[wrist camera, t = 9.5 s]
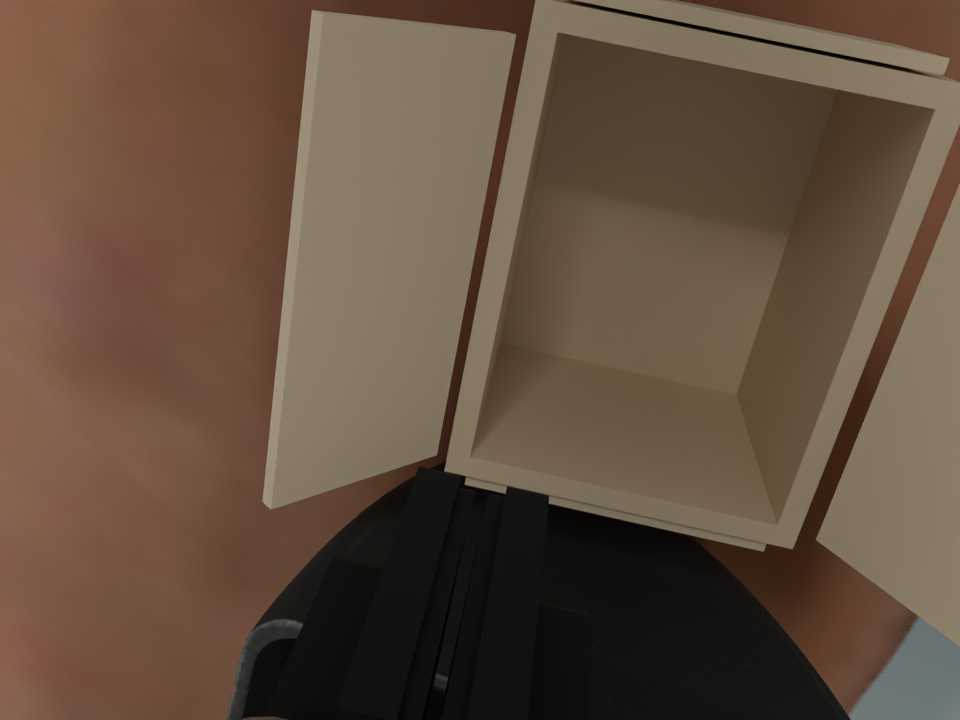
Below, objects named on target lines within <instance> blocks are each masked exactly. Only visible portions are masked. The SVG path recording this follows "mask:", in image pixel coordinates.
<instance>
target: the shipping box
mask: <svg viewBox="0 0 960 720" xmlns="http://www.w3.org/2000/svg"><path fill="white" fill-rule="evenodd" d="M949 60H950V59H949V58H946V57H942V56H938V55H934V54H930V53H926V52H923V51H919V50H915V49H911V48H907V47H903V46H900V45H896V44H892V43H887V42H882V41H877V40H872V39H867V38H862V37H857V36H852V35H847V34H842V33H838V32H833V31H828V30H823V29H818V28H813V27H808V26H803V25H798V24H793V23H788V22H783V21H778V20H773V19H768V18H763V17H758V16H753V15H748V14H743V13H738V12H733V11H728V10H723V9H719V8H714V7H709V6H704V5H699V4H694V3H689V2H684V1H679V0H536V1H535V6H534V11H533V16H532V21H531V26H530V32H529V37H528V42H527V47H526V52H525V57H524V63H523V68H522V73H521V78H520V83H519V88H518V93H517V99H516V104H515V109H514V114H513V119H512V124H511V130H510V135H509V140H508V145H507V150H506V155H505V160H504V166H503V171H502V176H501V181H500V186H499V191H498V197H497V202H496V207H495V212H494V217H493V222H492V227H491V233H490V238H489V243H488V248H487V253H486V258H485V264H484V269H483V274H482V279H481V284H480V289H479V295H478V300H477V305H476V310H475V315H474V320H473V325H472V331H471V336H470V341H469V346H468V351H467V356H466V362H465V367H464V372H463V377H462V382H461V387H460V392H459V398H458V403H457V408H456V413H455V418H454V423H453V429H452V434H451V439H450V444H449V449H448V454H447V460H446V465H445V470H444V471H446V472H450V473H455V474H459V475H463V476H466V480H465V485H469V486H473V487H477V488H482V489H486V490H491V491H495V492H500V493H504V494H505V493H506V489H507V486H509V487H514V488H518V489H523V490H527V491H532V492H536V493H541V494H545V495H549V504H553V505H558V506H562V507H567V508H571V509H575V510H580V511H584V512H589V513H593V514H598V515H602V516H607V517H611V518H616V519H620V520H624V521H629V522H633V523H638V524H642V525H647V526H651V527H656V528H660V529H664V530H669V531H673V532H678V533H682V534H687V535H691V536H696V537H700V538H705V539H709V540H713V541H718V542H722V543H727V544H731V545H736V546H740V547H745V548H749V549H754V550H758V551H762V552H764V550H765V547H766V545H767V544H771V545H776V546H780V547H785V548H789V549H793V548H794V545H795V542H796V540H797V537H798V535H799V532H800V530H801V527H802V525H803V522H804V520H805V517H806V514H807V512H808V509H809V507H810V504H811V502H812V499H813V497H814V494H815V492H816V489H817V486H818V484H819V481H820V479H821V476H822V474H823V471H824V469H825V466H826V464H827V461H828V458H829V456H830V453H831V451H832V448H833V446H834V443H835V441H836V438H837V436H838V433H839V430H840V428H841V425H842V423H843V420H844V418H845V415H846V413H847V410H848V408H849V405H850V402H851V400H852V397H853V395H854V392H855V390H856V387H857V385H858V382H859V380H860V377H861V374H862V372H863V369H864V367H865V364H866V362H867V359H868V357H869V354H870V352H871V349H872V346H873V344H874V341H875V339H876V336H877V334H878V331H879V329H880V326H881V324H882V321H883V318H884V316H885V313H886V311H887V308H888V306H889V303H890V301H891V298H892V296H893V293H894V290H895V288H896V285H897V283H898V280H899V278H900V275H901V273H902V270H903V268H904V265H905V262H906V260H907V257H908V255H909V252H910V250H911V247H912V245H913V242H914V240H915V237H916V234H917V232H918V229H919V227H920V224H921V222H922V219H923V217H924V214H925V212H926V209H927V206H928V204H929V201H930V199H931V196H932V194H933V191H934V189H935V186H936V184H937V181H938V178H939V176H940V173H941V171H942V168H943V166H944V163H945V161H946V158H947V156H948V153H949V150H950V148H951V145H952V143H953V140H954V138H955V135H956V133H957V130H958V128H959V125H960V82H959V81H956V80H953V79H950V78H947V77H943V76H940V75H944V73H945V70H946V68H947V65H948V62H949ZM934 73H935V74H934ZM937 74H940V75H937Z"/></svg>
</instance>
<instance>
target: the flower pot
mask: <svg viewBox="0 0 960 720" xmlns="http://www.w3.org/2000/svg"><path fill="white" fill-rule="evenodd" d="M445 465H446V462H444V463H442V464H440V465H437V466H435V467H433V468H430V469H433V470H437V471H442V472H446V471H444V470H445ZM446 473H450V472H446ZM451 474H455V473H451ZM455 475H459V474H455ZM460 476H461V480H460V485H459V487H461V488H465V489H470V490H474V491H475V493H474V498H473V503H472V508H471V512H470V517H469V522H468V526H467V531H466V536H465V541H464V545H463V550H462V555H461V560H460V564H459V569H458V574H457V578H456V583H455V588H454V593H453V597H452V602H451V607H450V611H449V616H448V621H447V626H446V630H445V635H444V640H443V645H442V649H441V654H440V658H439V663H438V668H437V672H436V677H435V681H434V685H433V690H432V694H431V699H430V703H429V707H428V712H427V716H426V720H439V718H440V714H441V709H442V704H443V699H444V695H445V690H446V685H447V680H448V676H449V671H450V666H451V662H452V657H453V652H454V648H455V643H456V639H457V634H458V630H459V625H460V621H461V616H462V612H463V607H464V602H465V598H466V593H467V589H468V584H469V580H470V575H471V571H472V566H473V562H474V557H475V552H476V548H477V543H478V539H479V534H480V530H481V525H482V521H483V516H484V511H485V507H486V502H487V498H488V494H492V495H497V496H501V497H505V494H504V493H500V492H495V491H491V490H486V489H482V488H477V487H473V486H469V485H465V480H466V476H463V475H460ZM415 477H416V476H414V477H412V478H411V479H409V480H407V481H405V482H404V483H402V484H400V485H399V486H397V487H396V488H394V489H393V490H391V491H390V492H388V493H387V494H385V495H384V496H382V497H381V498H380V499H378V500H377V501H376V502H374V503H373V504H372V505H370V506H369V507H368V508H366V509H365V510H364V511H363V512H361V513H360V514H359V515H358V516H357V517H356V518H355V519H354V520H352V521H351V522H350V523H349V524H348V525H346V526H345V527H344V528H343V529H342V530H341V531H340V532H339V533H338V534H337V535H336V536H334V537H333V538H332V539H331V540H330V541H329V542H328V543H327V544H326V545H325V546H324V547H323V548H322V549H321V550H320V551H319V552H318V553H317V554H316V555H315V556H314V557H313V558H312V560H311V561H310V562H309V563H308V564H307V565H306V566H305V567H304V568H303V569H302V570H301V572H300V573H299V574H298V575H297V576H296V577H295V578H294V579H293V581H292V582H291V583H290V584H289V585H288V586H287V587H286V588H285V589H284V591H283V592H282V593H281V594H280V595H279V596H278V598H277V599H276V600H275V601H274V602H273V604H272V605H271V606H270V607H269V609H268V610H267V611H266V612H265V613H264V615H263V616H262V617H261V619H260V620H259V622H258V623H257V624H256V626H255V627H254V628H253V630H252V631H251V632H250V634H249V635H248V637H247V638H246V639H245V643H244V647H243V650H242V654H241V658H240V662H239V666H238V670H237V675H236V679H235V683H234V688H233V692H232V696H231V700H230V705H229V709H228V713H227V717H226V720H241V719H245V718H248V717H263V715H264V713H265V711H266V708H267V706H268V704H269V701H270V699H271V697H272V694H273V692H274V690H275V688H276V685H277V683H278V681H279V678H280V676H281V674H282V672H283V669H284V667H285V665H286V662H287V660H288V658H289V655H290V653H291V651H292V649H293V646H294V644H295V642H296V639H297V637H298V635H299V632H300V630H301V628H302V626H303V623H304V621H305V619H306V616H307V614H308V612H309V610H310V607H311V605H312V603H313V600H314V598H315V596H316V593H317V591H318V589H319V587H320V584H321V582H322V580H323V577H324V575H325V573H326V571H327V568H328V566H329V564H330V562H331V560H332V558H333V557H334V556H335V555H339V556H343V557H348V558H352V559H357V560H361V561H366V562H370V563H374V564H379V565H383V566H385V563H386V561H387V558H388V555H389V552H390V549H391V546H392V543H393V540H394V538H395V535H396V532H397V529H398V526H399V523H400V520H401V517H402V514H403V512H404V509H405V506H406V503H407V500H408V497H409V494H410V491H411V489H412V486H413V483H414V480H415ZM539 601H543V602H547V603H552V604H556V605H561V606H565V607H570V608H574V609H578V610H583V611H587V612H590V615H591V661H590V711H589V720H850V718H849V717H848V715H847V714H846V712H845V711H844V709H843V708H842V706H841V705H840V703H839V702H838V701H837V699H836V698H835V696H834V695H833V693H832V692H831V690H830V689H829V688H828V686H827V685H826V683H825V682H824V681H823V679H822V678H821V677H820V675H819V674H818V672H817V671H816V670H815V668H814V667H813V666H812V664H811V663H810V662H809V660H808V659H807V658H806V657H805V655H804V654H803V653H802V651H801V650H800V649H799V648H798V646H797V645H796V644H795V643H794V642H793V640H792V639H791V638H790V637H789V636H788V634H787V633H786V632H785V631H784V629H783V628H782V627H781V626H780V625H779V623H778V622H777V621H776V620H775V619H774V617H773V616H772V615H771V614H770V613H769V612H768V611H767V610H766V609H765V608H764V606H763V605H762V604H761V603H760V602H759V601H758V600H757V599H756V598H755V597H754V596H753V595H752V594H751V592H750V591H749V590H748V589H747V588H746V587H745V586H744V585H743V584H742V583H741V582H740V581H739V580H738V579H737V578H736V577H735V576H734V575H733V574H732V573H731V572H730V571H729V570H728V569H727V568H726V567H725V566H724V565H723V564H722V563H721V562H719V561H718V560H717V559H716V558H715V557H714V556H713V555H712V554H710V553H709V552H708V551H707V550H705V549H704V548H703V547H702V546H701V545H700V544H698V543H696V542H694V541H692V540H690V539H687V538H684V537H681V536H678V535H675V534H672V533H669V532H666V531H663V530H660V529H657V528H654V527H651V526H647V525H642V524H638V523H633V522H629V521H624V520H620V519H616V518H611V517H607V516H602V515H598V514H593V513H589V512H584V511H580V510H575V509H571V508H567V507H562V506H558V505H553V504H549V505H548V515H547V526H546V536H545V546H544V556H543V566H542V576H541V586H540V596H539Z"/></svg>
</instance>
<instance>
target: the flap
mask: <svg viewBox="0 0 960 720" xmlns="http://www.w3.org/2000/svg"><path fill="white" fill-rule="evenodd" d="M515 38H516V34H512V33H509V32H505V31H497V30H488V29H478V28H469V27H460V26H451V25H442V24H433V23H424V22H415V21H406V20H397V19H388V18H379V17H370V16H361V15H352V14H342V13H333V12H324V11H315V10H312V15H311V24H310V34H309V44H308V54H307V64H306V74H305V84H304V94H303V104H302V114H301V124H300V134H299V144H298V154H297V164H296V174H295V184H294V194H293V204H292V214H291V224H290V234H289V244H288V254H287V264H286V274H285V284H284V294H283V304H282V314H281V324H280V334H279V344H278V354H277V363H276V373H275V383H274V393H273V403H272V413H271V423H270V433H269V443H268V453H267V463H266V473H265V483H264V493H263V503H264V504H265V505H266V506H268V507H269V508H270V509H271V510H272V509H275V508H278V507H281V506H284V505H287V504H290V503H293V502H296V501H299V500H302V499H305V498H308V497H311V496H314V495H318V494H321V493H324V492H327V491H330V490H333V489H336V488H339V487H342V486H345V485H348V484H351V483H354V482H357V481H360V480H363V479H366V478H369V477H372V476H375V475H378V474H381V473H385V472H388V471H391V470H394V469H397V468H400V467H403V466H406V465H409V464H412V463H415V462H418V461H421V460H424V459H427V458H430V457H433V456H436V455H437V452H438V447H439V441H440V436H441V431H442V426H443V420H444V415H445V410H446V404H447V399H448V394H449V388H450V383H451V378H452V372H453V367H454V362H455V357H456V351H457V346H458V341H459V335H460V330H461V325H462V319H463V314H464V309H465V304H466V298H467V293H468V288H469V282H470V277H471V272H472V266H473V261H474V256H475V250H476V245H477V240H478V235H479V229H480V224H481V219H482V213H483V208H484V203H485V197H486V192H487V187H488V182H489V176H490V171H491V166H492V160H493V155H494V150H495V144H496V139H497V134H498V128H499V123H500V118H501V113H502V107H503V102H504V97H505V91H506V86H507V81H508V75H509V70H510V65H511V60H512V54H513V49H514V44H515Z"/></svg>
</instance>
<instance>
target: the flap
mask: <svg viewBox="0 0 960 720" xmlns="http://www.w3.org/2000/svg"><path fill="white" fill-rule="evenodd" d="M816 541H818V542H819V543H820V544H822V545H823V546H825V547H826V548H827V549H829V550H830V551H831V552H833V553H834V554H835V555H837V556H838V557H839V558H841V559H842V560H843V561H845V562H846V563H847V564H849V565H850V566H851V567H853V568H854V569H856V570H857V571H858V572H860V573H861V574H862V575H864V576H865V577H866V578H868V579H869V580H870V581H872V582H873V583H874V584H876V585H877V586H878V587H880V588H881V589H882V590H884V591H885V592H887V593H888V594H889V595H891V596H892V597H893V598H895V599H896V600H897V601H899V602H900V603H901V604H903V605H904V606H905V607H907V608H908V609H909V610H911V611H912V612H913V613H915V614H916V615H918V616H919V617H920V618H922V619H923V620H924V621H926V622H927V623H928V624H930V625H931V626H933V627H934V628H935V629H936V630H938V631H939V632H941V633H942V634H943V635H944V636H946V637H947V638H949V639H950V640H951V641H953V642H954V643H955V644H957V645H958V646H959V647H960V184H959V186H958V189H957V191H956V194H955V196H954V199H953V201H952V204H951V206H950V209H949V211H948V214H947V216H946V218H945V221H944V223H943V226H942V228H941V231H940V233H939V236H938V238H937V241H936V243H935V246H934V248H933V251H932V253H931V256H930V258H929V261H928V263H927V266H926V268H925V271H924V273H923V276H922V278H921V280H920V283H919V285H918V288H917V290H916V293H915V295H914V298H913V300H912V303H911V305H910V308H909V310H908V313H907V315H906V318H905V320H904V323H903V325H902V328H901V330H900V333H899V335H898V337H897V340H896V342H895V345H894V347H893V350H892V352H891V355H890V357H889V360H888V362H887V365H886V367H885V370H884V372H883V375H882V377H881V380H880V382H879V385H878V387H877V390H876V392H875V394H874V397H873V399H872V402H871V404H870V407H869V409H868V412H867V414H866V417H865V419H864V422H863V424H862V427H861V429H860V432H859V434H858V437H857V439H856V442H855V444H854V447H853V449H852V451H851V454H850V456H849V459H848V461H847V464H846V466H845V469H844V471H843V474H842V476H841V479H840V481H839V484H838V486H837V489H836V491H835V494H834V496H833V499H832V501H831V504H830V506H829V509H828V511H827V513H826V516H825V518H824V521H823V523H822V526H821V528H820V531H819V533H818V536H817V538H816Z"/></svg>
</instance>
